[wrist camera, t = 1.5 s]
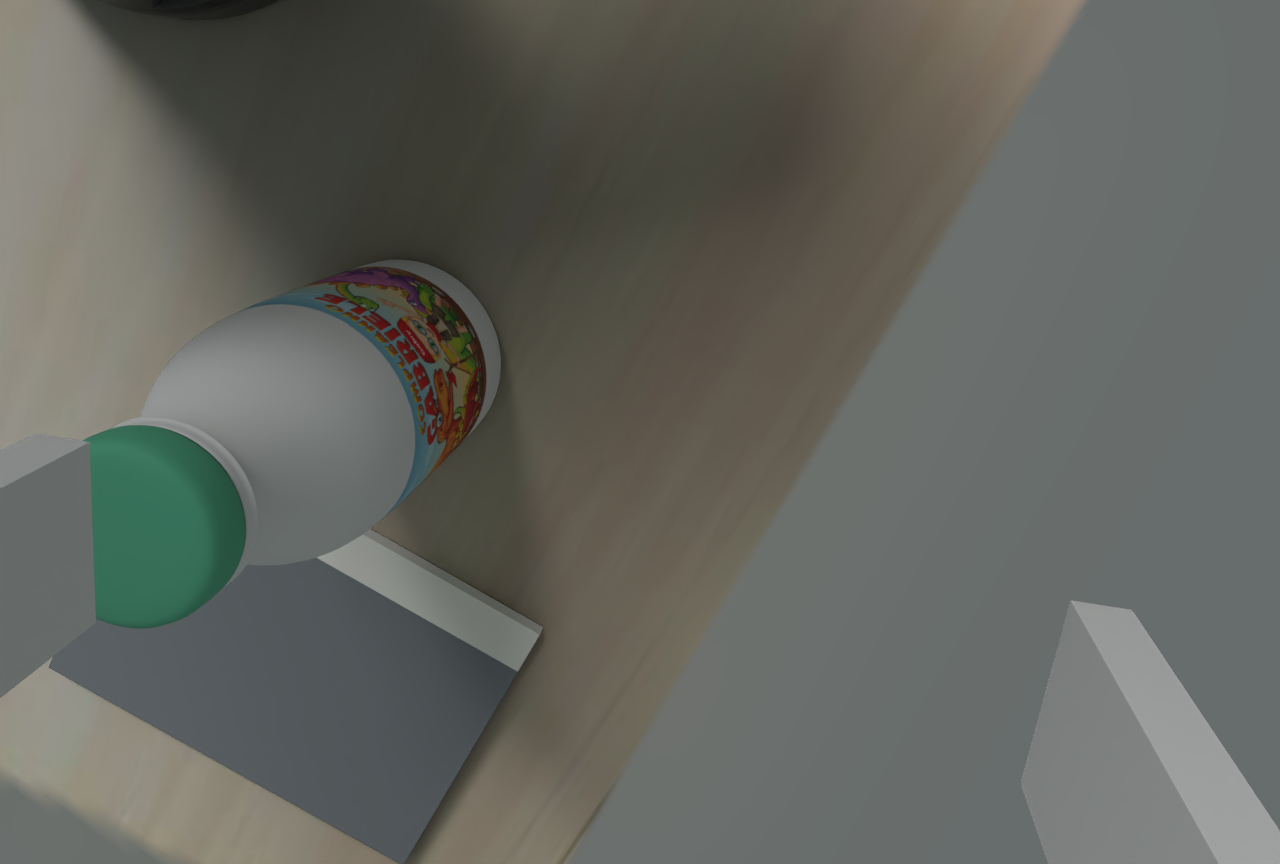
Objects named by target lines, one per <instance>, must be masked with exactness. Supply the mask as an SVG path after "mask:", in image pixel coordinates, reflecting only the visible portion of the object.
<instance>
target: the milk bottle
mask: <svg viewBox="0 0 1280 864" xmlns="http://www.w3.org/2000/svg"><path fill="white" fill-rule="evenodd" d="M500 373H501V356H500V348H499V342H498V339H497V335H496V332H495V329H494V327H493V324H492V322H491V320H490V318H489V316H488V314H487V312H486V311H485V309H484V307H483V306H482V304H481V303H480V302H479V300H478V299H477V298H476V297H475V296H474V294H473V293H472V292H471V291H470V290H469V289H468V288H467V287H466V286H464V285H463V284H462V283H461V282H460V281H458V280H457V279H456V278H454V277H453V276H451V275H449V274H448V273H446V272H444V271H442V270H440V269H438V268H436V267H433V266H431V265H428V264H425V263H421V262H417V261H411V260H400V259H398V260H384V261H379V262H375V263H371V264H367V265H363V266H360V267H357V268H354V269H351V270H348V271H345V272H342V273H339V274H337V275H334V276H331V277H328V278H325V279H323V280H320V281H317V282H314V283H311V284H309V285H306V286H303V287H300V288H298V289H295V290H292V291H290V292H287V293H284V294H282V295H279V296H276V297H274V298H271V299H269V300H266V301H263V302H261V303H258V304H255V305H253V306H251V307H248V308H246V309H244V310H242V311H240V312H238V313H235V314H233V315H231V316H229V317H227V318H225V319H223V320H221V321H219V322H217V323H215V324H214V325H212V326H211V327H209V328H208V329H206V330H205V331H203V332H202V333H200V334H199V335H197V336H196V337H195V338H193V339H192V340H191V341H190V342H188V343H187V344H186V345H185V346H184V347H183V348H182V349H181V350H180V351H179V352H178V353H177V354H176V355H175V356H174V357H173V358H172V359H171V360H170V362H169V363H168V364H167V366H166V367H165V368H164V370H163V371H162V373H161V374H160V375H159V377H158V379H157V380H156V382H155V383H154V385H153V387H152V389H151V391H150V393H149V396H148V398H147V400H146V402H145V405H144V408H143V411H142V414H141V417H140V418H135V419H131V420H128V421H125V422H122V423H120V424H118V425H116V426H114V427H112V428H110V429H109V430H106V431H103V432H101V433H98V434H96V435H93V436H91V437H89V438H87V439H85V440H83V441H86V442H90V469H91V497H92V526H93V554H94V582H95V610H96V618H97V619H99V620H101V621H104V622H106V623H109V624H113V625H116V626H121V627H126V628H135V629H145V628H154V627H159V626H163V625H166V624H170V623H173V622H176V621H178V620H181V619H183V618H185V617H187V616H188V615H190V614H192V613H193V612H195V611H196V610H197V609H199V608H200V607H201V606H203V605H204V604H206V603H207V602H208V601H210V600H211V599H212V598H213V597H214V596H215V595H216V594H217V593H218V592H219V591H220V590H221V589H222V588H223V587H225V586H226V585H228V584H229V583H230V582H232V581H233V580H234V579H235V578H236V577H237V576H238V575H239V574H240V573H241V572H242V571H243V569H244V568H245V567H246V565H284V564H290V563H296V562H301V561H306V560H310V559H313V558H316V557H319V556H322V555H324V554H327V553H330V552H332V551H334V550H337V549H339V548H341V547H342V546H344V545H346V544H348V543H349V542H351V541H353V540H355V539H356V538H358V537H360V536H361V535H363V534H364V533H365V532H367V531H368V530H370V529H371V528H372V527H373V526H374V525H376V524H377V523H378V522H379V521H380V520H382V519H383V518H384V517H385V516H386V515H387V514H389V513H390V512H391V511H392V510H393V509H394V508H395V507H397V506H398V505H399V504H400V503H401V502H402V501H403V500H404V499H405V498H406V497H407V496H408V495H409V494H410V493H411V492H412V491H413V490H414V489H415V488H416V487H418V486H419V485H420V484H421V483H422V482H423V481H424V480H425V479H426V478H427V477H428V476H429V475H430V474H431V473H432V472H433V471H434V470H435V469H436V468H437V467H438V466H439V465H440V464H441V463H442V462H443V461H444V460H445V459H446V458H447V457H448V456H449V455H450V454H451V453H452V452H453V451H454V450H455V449H456V448H457V447H458V446H459V445H460V444H461V443H462V442H463V441H464V440H465V439H466V438H467V437H468V436H469V435H470V434H471V432H472V431H473V430H474V429H475V428H476V427H477V426H478V424H479V423H480V422H481V421H482V419H483V418H484V417H485V415H486V414H487V412H488V411H489V409H490V407H491V405H492V403H493V401H494V398H495V396H496V393H497V390H498V385H499V381H500Z"/></svg>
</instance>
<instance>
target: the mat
mask: <svg viewBox="0 0 1280 864" xmlns="http://www.w3.org/2000/svg"><path fill="white" fill-rule="evenodd" d="M542 629H543V627H542V626H540V625H539V624H537V623H535V622H533V621H532V620H530V619H528V618H526V617H524V616H523V615H521V614H519V613H517V612H516V611H514V610H512V609H510V608H509V607H507V606H505V605H503V604H502V603H500V602H498V601H496V600H495V599H493V598H491V597H489V596H487V595H486V594H484V593H482V592H480V591H479V590H477V589H475V588H473V587H472V586H470V585H468V584H466V583H465V582H463V581H461V580H459V579H458V578H456V577H454V576H452V575H450V574H449V573H447V572H445V571H443V570H442V569H440V568H438V567H436V566H435V565H433V564H431V563H429V562H428V561H426V560H424V559H422V558H421V557H419V556H417V555H415V554H414V553H412V552H410V551H408V550H406V549H405V548H403V547H401V546H399V545H398V544H396V543H394V542H392V541H391V540H389V539H387V538H385V537H384V536H382V535H380V534H378V533H377V532H375V531H373V530H371V529H370V530H368V531H367V532H365V533H364V534H363V535H361V536H360V537H358V538H356V539H355V540H353V541H351V542H349V543H348V544H346V545H344V546H342V547H341V548H339V549H337V550H334V551H332V552H330V553H327V554H324V555H322V556H319V557H316V558H313V559H310V560H306V561H301V562H296V563H290V564H284V565H246V567H245V568H244V569H243V571H242V572H241V573H240V574H239V575H238V576H237V577H236V578H235V579H234V580H233V581H232V582H230V583H229V584H228V585H226V586H225V587H223V588H222V589H221V590H220V591H219V592H218V593H217V594H216V595H215V596H214V597H213V598H212V599H211V600H210V601H208V602H207V603H206V604H204V605H203V606H201V607H200V608H199V609H197V610H196V611H195V612H193V613H192V614H190V615H188V616H187V617H185V618H183V619H181V620H178V621H176V622H173V623H170V624H166V625H163V626H159V627H154V628H145V629H135V628H126V627H121V626H116V625H113V624H109V623H106V622H104V621H101V620H99V619H97V618H96V623H95V624H93V625H92V626H91V627H90V628H88V629H87V630H86V631H85V632H83V633H82V634H81V635H80V636H78V637H77V638H76V639H74V640H73V641H72V642H71V643H69V644H68V645H67V646H66V647H64V648H63V649H62V650H60V651H59V652H58V653H57V654H55V655H54V656H53V658H52V661H51V663H50V665H49V668H50V669H52V670H54V671H56V672H58V673H59V674H61V675H63V676H65V677H66V678H68V679H70V680H72V681H74V682H75V683H77V684H79V685H81V686H83V687H84V688H86V689H88V690H90V691H92V692H93V693H95V694H97V695H99V696H100V697H102V698H104V699H106V700H108V701H109V702H111V703H113V704H115V705H117V706H118V707H120V708H122V709H124V710H126V711H127V712H129V713H131V714H133V715H135V716H136V717H138V718H140V719H142V720H143V721H145V722H147V723H149V724H151V725H152V726H154V727H156V728H158V729H160V730H161V731H163V732H165V733H167V734H169V735H170V736H172V737H174V738H176V739H177V740H179V741H181V742H183V743H185V744H186V745H188V746H190V747H192V748H194V749H195V750H197V751H199V752H201V753H203V754H204V755H206V756H208V757H210V758H211V759H213V760H215V761H217V762H219V763H220V764H222V765H224V766H226V767H228V768H229V769H231V770H233V771H235V772H237V773H238V774H240V775H242V776H244V777H245V778H247V779H249V780H251V781H253V782H254V783H256V784H258V785H260V786H262V787H263V788H265V789H267V790H269V791H271V792H272V793H274V794H276V795H278V796H279V797H281V798H283V799H285V800H287V801H288V802H290V803H292V804H294V805H296V806H297V807H299V808H301V809H303V810H305V811H306V812H308V813H310V814H312V815H313V816H315V817H317V818H319V819H321V820H322V821H324V822H326V823H328V824H330V825H331V826H333V827H335V828H337V829H339V830H340V831H342V832H344V833H346V834H347V835H349V836H351V837H353V838H355V839H356V840H358V841H360V842H362V843H364V844H365V845H367V846H369V847H371V848H373V849H374V850H376V851H378V852H380V853H381V854H383V855H385V856H387V857H389V858H390V859H392V860H394V861H396V862H398V863H399V864H404V863H405V861H406V859H407V858H408V856H409V854H410V853H411V851H412V849H413V848H414V846H415V844H416V843H417V841H418V839H419V838H420V836H421V834H422V832H423V831H424V829H425V827H426V826H427V824H428V822H429V821H430V819H431V817H432V816H433V814H434V812H435V811H436V809H437V807H438V805H439V804H440V802H441V800H442V799H443V797H444V795H445V794H446V792H447V790H448V789H449V787H450V785H451V784H452V782H453V780H454V779H455V777H456V775H457V773H458V772H459V770H460V768H461V767H462V765H463V763H464V762H465V760H466V758H467V757H468V755H469V753H470V752H471V750H472V748H473V746H474V745H475V743H476V741H477V740H478V738H479V736H480V735H481V733H482V731H483V730H484V728H485V726H486V725H487V723H488V721H489V719H490V718H491V716H492V714H493V713H494V711H495V709H496V708H497V706H498V704H499V703H500V701H501V699H502V698H503V696H504V694H505V693H506V691H507V689H508V687H509V686H510V684H511V682H512V681H513V679H514V677H515V676H516V674H517V672H518V671H519V669H520V667H521V666H522V664H523V662H524V661H525V659H526V657H527V656H528V654H529V652H530V651H531V649H532V647H533V645H534V644H535V642H536V640H537V639H538V637H539V635H540V633H541V631H542Z"/></svg>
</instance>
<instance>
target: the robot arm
mask: <svg viewBox="0 0 1280 864" xmlns="http://www.w3.org/2000/svg"><path fill="white" fill-rule="evenodd" d="M100 1H103V2H105V3H108V4H111V5H114V6H117V7H120V8H123V9H127V10H131V11H135V12H141V13H147V14H152V15H159V16H165V17H171V18H178V19H189V20H207V19H220V18H226V17H232V16H236V15H240V14H244V13H248V12H251V11H254V10H257V9H260V8H262V7H264V6H267V5H269V4H271V3H273V2H275V1H277V0H100ZM95 623H96V610H95V582H94V554H93V526H92V497H91V469H90V442H86V441H80V440H73V439H67V438H61V437H55V436H49V435H42V434H34V435H32V436H30V437H28V438H26V439H24V440H22V441H19V442H17V443H15V444H13V445H11V446H9V447H7V448H5V449H2V450H0V698H1V697H2V696H3V695H5V694H6V693H7V692H9V691H10V690H11V689H12V688H14V687H15V686H16V685H17V684H19V683H20V682H21V681H22V680H24V679H25V678H26V677H28V676H29V675H30V674H31V673H33V672H34V671H35V670H36V669H38V668H39V667H40V666H41V665H43V664H44V663H45V662H47V661H48V660H49V659H50V658H52V657H53V656H54V655H55V654H57V653H58V652H59V651H60V650H62V649H63V648H64V647H66V646H67V645H68V644H69V643H71V642H72V641H73V640H74V639H76V638H77V637H78V636H80V635H81V634H82V633H83V632H85V631H86V630H87V629H88V628H90V627H91V626H92V625H93V624H95ZM1021 786H1022V789H1023V792H1024V794H1025V797H1026V800H1027V803H1028V806H1029V809H1030V812H1031V815H1032V817H1033V820H1034V823H1035V827H1036V829H1037V832H1038V835H1039V838H1040V841H1041V844H1042V847H1043V850H1044V853H1045V856H1046V858H1047V861H1048V864H1280V831H1279V829H1278V828H1277V826H1276V825H1275V823H1274V822H1273V820H1272V819H1271V817H1270V816H1269V814H1268V813H1267V811H1266V810H1265V808H1264V807H1263V805H1262V804H1261V802H1260V801H1259V799H1258V798H1257V796H1256V795H1255V793H1254V792H1253V790H1252V789H1251V787H1250V786H1249V784H1248V783H1247V781H1246V780H1245V778H1244V777H1243V775H1242V774H1241V773H1240V771H1239V769H1238V768H1237V766H1236V765H1235V763H1234V762H1233V761H1232V759H1231V757H1230V756H1229V754H1228V753H1227V752H1226V750H1225V749H1224V747H1223V746H1222V744H1221V743H1220V741H1219V740H1218V738H1217V737H1216V735H1215V734H1214V732H1213V731H1212V729H1211V728H1210V726H1209V725H1208V723H1207V722H1206V720H1205V719H1204V717H1203V716H1202V714H1201V713H1200V711H1199V710H1198V708H1197V707H1196V705H1195V704H1194V702H1193V701H1192V699H1191V698H1190V696H1189V695H1188V693H1187V692H1186V690H1185V689H1184V687H1183V686H1182V684H1181V683H1180V681H1179V680H1178V678H1177V677H1176V675H1175V674H1174V672H1173V671H1172V669H1171V668H1170V666H1169V665H1168V663H1167V662H1166V660H1165V659H1164V657H1163V656H1162V655H1161V653H1160V651H1159V650H1158V648H1157V647H1156V645H1155V644H1154V643H1153V641H1152V640H1151V638H1150V637H1149V635H1148V633H1147V632H1146V630H1145V629H1144V628H1143V626H1142V624H1141V623H1140V622H1139V620H1138V619H1137V617H1136V616H1135V614H1134V613H1133V611H1132V610H1128V609H1121V608H1115V607H1109V606H1103V605H1096V604H1091V603H1084V602H1078V601H1072V600H1070V603H1069V607H1068V611H1067V614H1066V618H1065V622H1064V626H1063V629H1062V633H1061V637H1060V640H1059V645H1058V648H1057V652H1056V655H1055V659H1054V663H1053V666H1052V670H1051V674H1050V677H1049V681H1048V685H1047V688H1046V692H1045V696H1044V699H1043V703H1042V707H1041V711H1040V714H1039V718H1038V722H1037V726H1036V729H1035V733H1034V736H1033V740H1032V744H1031V748H1030V751H1029V755H1028V759H1027V762H1026V766H1025V770H1024V774H1023V777H1022V781H1021Z"/></svg>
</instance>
